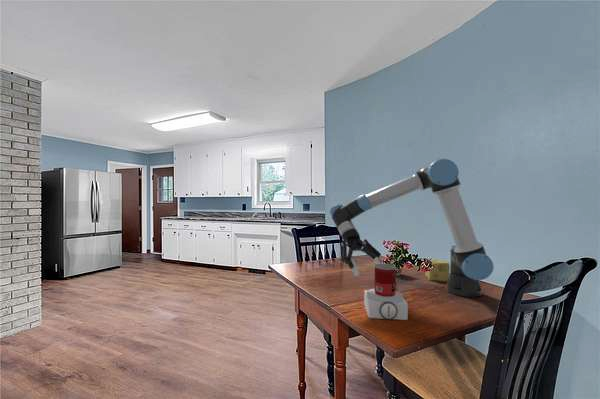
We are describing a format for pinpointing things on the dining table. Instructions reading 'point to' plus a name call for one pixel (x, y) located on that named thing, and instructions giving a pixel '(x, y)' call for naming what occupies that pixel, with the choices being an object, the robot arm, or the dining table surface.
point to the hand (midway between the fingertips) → (370, 273)
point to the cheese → (438, 271)
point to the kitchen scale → (385, 305)
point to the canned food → (385, 280)
